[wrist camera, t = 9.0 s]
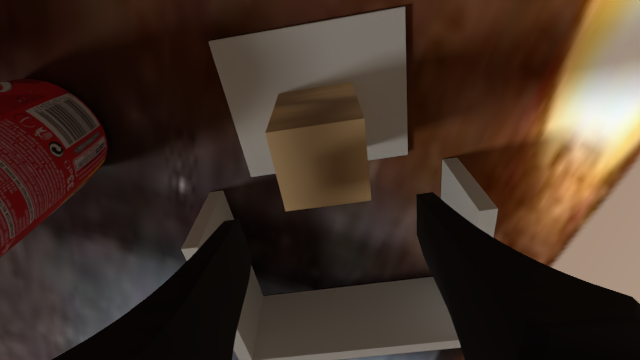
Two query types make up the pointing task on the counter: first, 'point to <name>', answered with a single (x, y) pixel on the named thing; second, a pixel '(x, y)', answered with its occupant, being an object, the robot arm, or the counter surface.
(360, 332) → the open box
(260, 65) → the grey mat
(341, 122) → the wooden block
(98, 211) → the counter surface
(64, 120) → the soda can
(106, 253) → the counter surface
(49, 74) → the counter surface
